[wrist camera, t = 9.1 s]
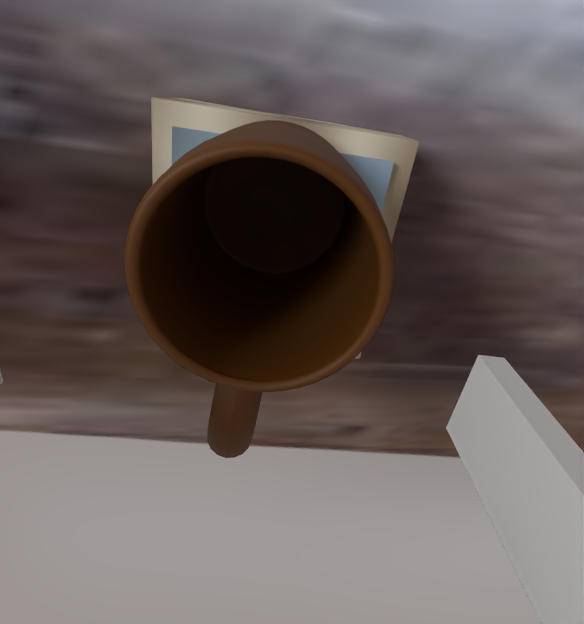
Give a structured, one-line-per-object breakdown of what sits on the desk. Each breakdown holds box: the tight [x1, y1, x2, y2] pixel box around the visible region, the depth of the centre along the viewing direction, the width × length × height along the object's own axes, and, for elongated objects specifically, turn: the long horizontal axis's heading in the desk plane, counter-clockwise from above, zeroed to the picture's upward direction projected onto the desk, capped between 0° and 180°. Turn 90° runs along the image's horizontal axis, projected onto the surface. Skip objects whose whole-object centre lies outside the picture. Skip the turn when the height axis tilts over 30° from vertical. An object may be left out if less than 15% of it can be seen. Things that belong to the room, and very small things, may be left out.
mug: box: [124, 120, 395, 458], centre depth 16 cm, size 12×8×9 cm, turn 168°
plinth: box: [151, 97, 419, 359], centre depth 23 cm, size 12×12×6 cm
